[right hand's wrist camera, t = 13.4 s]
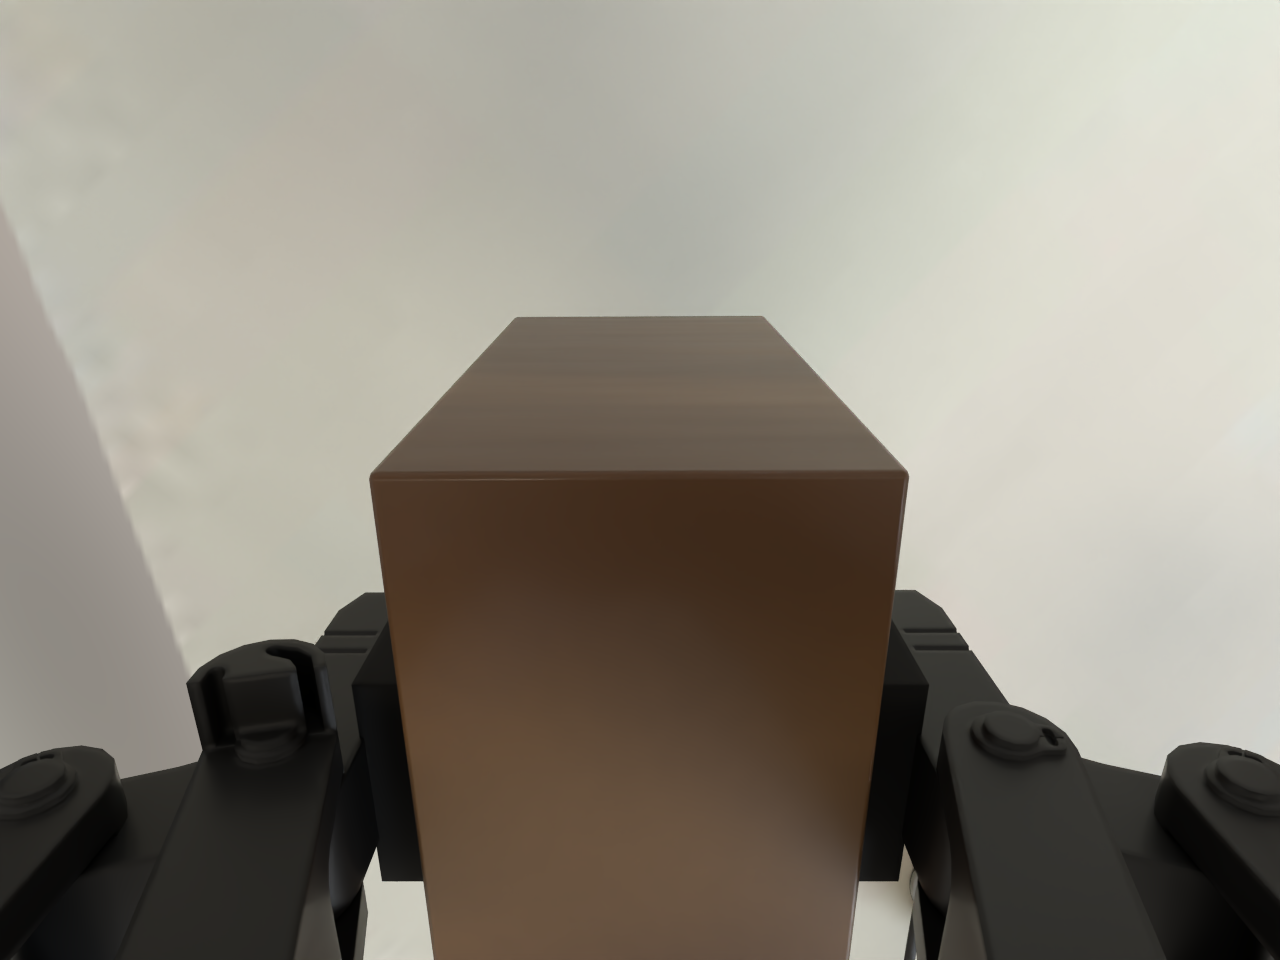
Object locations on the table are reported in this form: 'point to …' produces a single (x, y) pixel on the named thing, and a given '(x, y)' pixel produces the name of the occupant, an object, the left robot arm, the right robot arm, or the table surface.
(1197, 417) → the table surface
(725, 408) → the bar
